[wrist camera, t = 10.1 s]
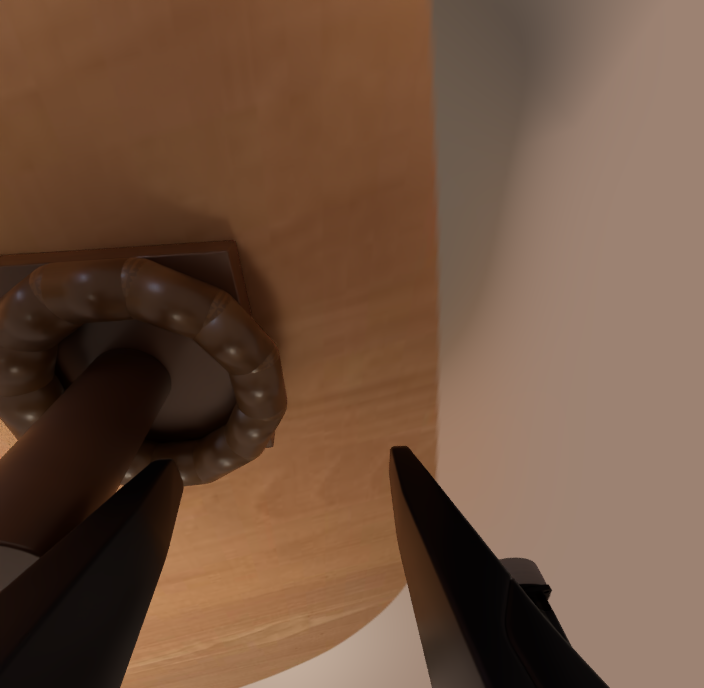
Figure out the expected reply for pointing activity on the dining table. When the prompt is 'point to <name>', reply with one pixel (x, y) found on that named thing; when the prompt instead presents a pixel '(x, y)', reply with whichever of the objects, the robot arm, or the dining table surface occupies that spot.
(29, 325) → the ring
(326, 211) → the dining table surface
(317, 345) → the dining table surface
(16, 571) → the stand
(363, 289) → the dining table surface
